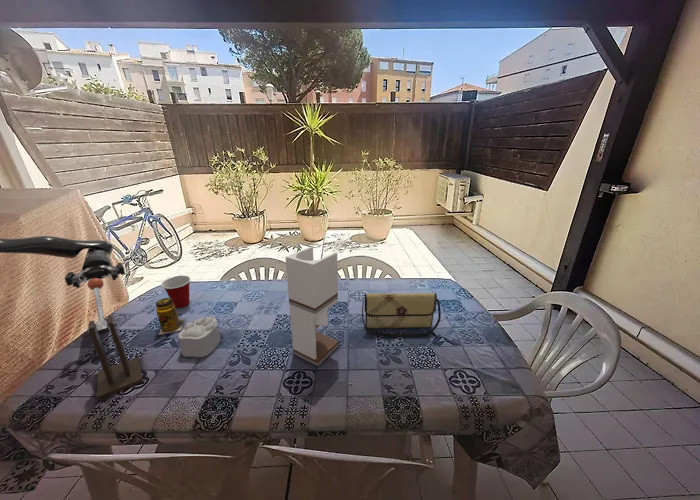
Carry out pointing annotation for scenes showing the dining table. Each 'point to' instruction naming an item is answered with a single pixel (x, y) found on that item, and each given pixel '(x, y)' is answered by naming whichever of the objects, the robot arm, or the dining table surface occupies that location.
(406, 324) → the clutch purse
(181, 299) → the plastic cup
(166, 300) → the condiment
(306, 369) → the dining table surface
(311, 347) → the white tall boxy piece
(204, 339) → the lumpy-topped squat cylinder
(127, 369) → the bracket
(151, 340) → the dining table surface
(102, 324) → the lever
